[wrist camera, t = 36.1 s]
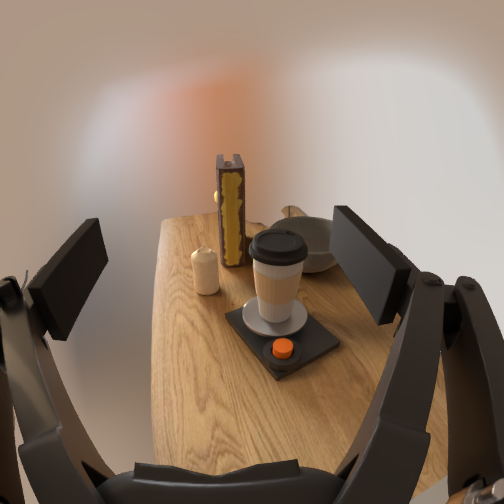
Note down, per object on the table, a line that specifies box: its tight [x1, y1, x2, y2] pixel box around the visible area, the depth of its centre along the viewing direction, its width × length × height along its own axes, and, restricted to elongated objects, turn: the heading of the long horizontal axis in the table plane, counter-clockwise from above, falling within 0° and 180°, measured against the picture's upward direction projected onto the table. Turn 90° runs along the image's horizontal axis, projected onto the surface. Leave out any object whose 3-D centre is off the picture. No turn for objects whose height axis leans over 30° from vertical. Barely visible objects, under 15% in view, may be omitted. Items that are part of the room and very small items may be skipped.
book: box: [214, 154, 245, 267], centre depth 75 cm, size 22×8×25 cm, turn 6°
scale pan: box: [242, 296, 307, 338], centre depth 51 cm, size 12×12×1 cm
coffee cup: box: [249, 229, 308, 323], centre depth 48 cm, size 9×9×15 cm
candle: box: [191, 246, 219, 295], centre depth 61 cm, size 6×6×10 cm
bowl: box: [270, 216, 338, 273], centre depth 70 cm, size 20×20×10 cm
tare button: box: [273, 338, 293, 359], centre depth 44 cm, size 3×3×2 cm
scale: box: [225, 307, 340, 381], centre depth 51 cm, size 18×14×3 cm
